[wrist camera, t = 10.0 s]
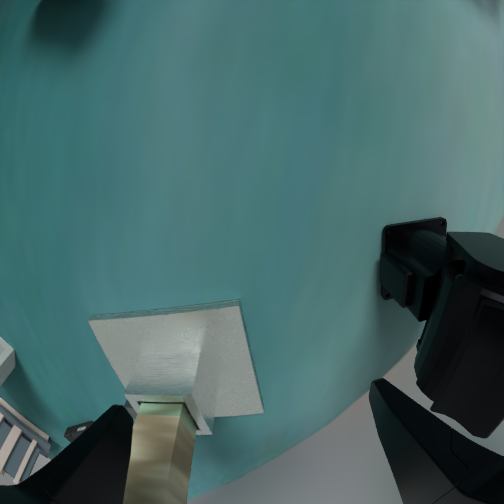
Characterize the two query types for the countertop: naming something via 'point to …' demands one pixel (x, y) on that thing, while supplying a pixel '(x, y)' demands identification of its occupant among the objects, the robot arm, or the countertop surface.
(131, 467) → the column
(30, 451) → the desk lamp
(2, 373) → the grey block
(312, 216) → the countertop surface
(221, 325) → the stand
